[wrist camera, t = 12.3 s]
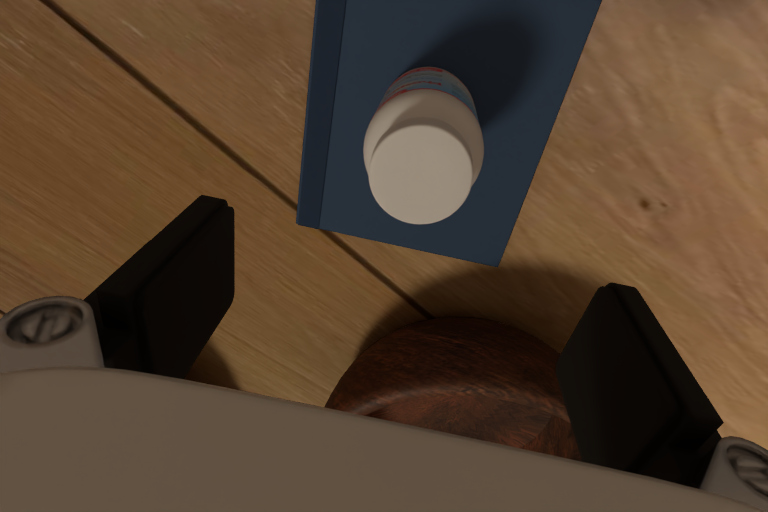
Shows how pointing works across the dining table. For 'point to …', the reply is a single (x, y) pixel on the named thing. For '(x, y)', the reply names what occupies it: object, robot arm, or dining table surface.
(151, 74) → the dining table surface
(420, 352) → the wooden bowl
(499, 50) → the book
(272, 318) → the dining table surface
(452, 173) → the pill bottle
